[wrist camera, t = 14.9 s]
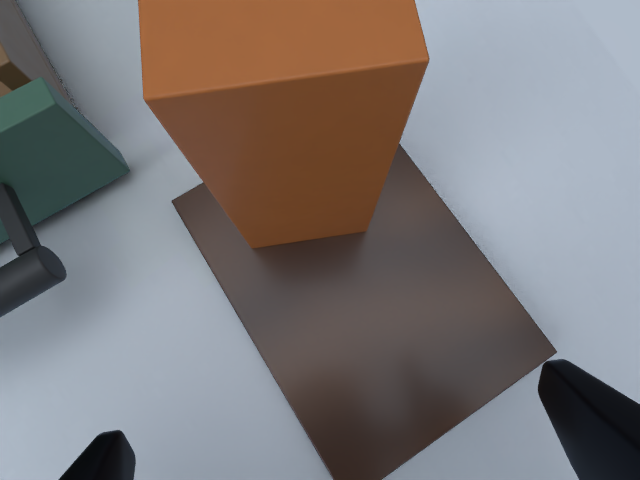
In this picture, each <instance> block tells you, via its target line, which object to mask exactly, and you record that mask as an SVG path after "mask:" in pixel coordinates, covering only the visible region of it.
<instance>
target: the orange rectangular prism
mask: <svg viewBox="0 0 640 480" xmlns="http://www.w3.org/2000/svg"><path fill="white" fill-rule="evenodd" d="M138 6H139V25H140V43H141V62H142V80H143V99H144V101H145V102H146V103H147V105H148V106H149V108H150V109H151V110H152V112H153V113H154V114H155V116H156V117H157V119H158V120H159V121H160V123H161V124H162V126H163V127H164V128H165V130H166V131H167V132H168V134H169V135H170V137H171V138H172V139H173V141H174V142H175V143H176V145H177V146H178V148H179V149H180V150H181V152H182V153H183V155H184V156H185V157H186V159H187V160H188V161H189V163H190V164H191V166H192V167H193V168H194V170H195V171H196V172H197V174H198V175H199V177H200V178H201V179H202V181H203V182H204V183H205V185H206V186H207V188H208V189H209V190H210V192H211V193H212V195H213V196H214V197H215V199H216V200H217V201H218V203H219V204H220V206H221V207H222V208H223V210H224V211H225V212H226V214H227V215H228V217H229V218H230V219H231V221H232V222H233V224H234V225H235V226H236V228H237V229H238V230H239V232H240V233H241V235H242V236H243V237H244V239H245V240H246V241H247V243H248V244H249V246H250V247H251V248H259V247H266V246H272V245H279V244H286V243H292V242H299V241H305V240H312V239H319V238H325V237H332V236H338V235H345V234H352V233H358V232H365V231H367V229H368V227H369V224H370V221H371V218H372V216H373V213H374V210H375V207H376V205H377V202H378V199H379V197H380V194H381V191H382V188H383V186H384V183H385V180H386V177H387V175H388V172H389V169H390V167H391V164H392V161H393V158H394V156H395V153H396V150H397V147H398V145H399V142H400V139H401V136H402V134H403V131H404V128H405V126H406V123H407V120H408V117H409V115H410V112H411V109H412V106H413V104H414V101H415V98H416V95H417V93H418V90H419V87H420V85H421V82H422V79H423V76H424V74H425V71H426V68H427V65H428V63H429V55H428V51H427V47H426V43H425V39H424V35H423V32H422V28H421V24H420V20H419V16H418V12H417V8H416V4H415V0H138Z"/></svg>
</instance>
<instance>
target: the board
mask: <svg viewBox="0 0 640 480" xmlns="http://www.w3.org/2000/svg"><path fill="white" fill-rule="evenodd" d="M172 203H173V205H174V207H175V208H176V210H177V212H178V214H179V215H180V217H181V219H182V220H183V222H184V224H185V226H186V227H187V229H188V231H189V232H190V234H191V236H192V238H193V239H194V241H195V243H196V244H197V246H198V248H199V250H200V251H201V253H202V255H203V257H204V258H205V260H206V262H207V263H208V265H209V267H210V269H211V270H212V272H213V274H214V275H215V277H216V279H217V281H218V282H219V284H220V286H221V287H222V289H223V291H224V293H225V294H226V296H227V298H228V299H229V301H230V303H231V305H232V306H233V308H234V310H235V311H236V313H237V315H238V317H239V318H240V320H241V322H242V324H243V325H244V327H245V329H246V330H247V332H248V334H249V336H250V337H251V339H252V341H253V342H254V344H255V346H256V348H257V349H258V351H259V353H260V354H261V356H262V358H263V360H264V361H265V363H266V365H267V366H268V368H269V370H270V372H271V373H272V375H273V377H274V378H275V380H276V382H277V384H278V385H279V387H280V389H281V390H282V392H283V394H284V396H285V397H286V399H287V401H288V403H289V404H290V406H291V408H292V409H293V411H294V413H295V415H296V416H297V418H298V420H299V421H300V423H301V425H302V427H303V428H304V430H305V432H306V433H307V435H308V437H309V439H310V440H311V442H312V444H313V445H314V447H315V449H316V451H317V452H318V454H319V456H320V457H321V459H322V461H323V463H324V464H325V466H326V468H327V470H328V471H329V473H330V475H331V476H332V478H333V480H382V479H383V478H385V477H386V476H387V475H389V474H390V473H391V472H393V471H394V470H396V469H397V468H398V467H400V466H401V465H402V464H404V463H405V462H407V461H408V460H409V459H411V458H412V457H413V456H415V455H416V454H418V453H419V452H420V451H422V450H423V449H425V448H426V447H427V446H429V445H430V444H431V443H433V442H434V441H436V440H437V439H438V438H440V437H441V436H442V435H444V434H445V433H447V432H448V431H449V430H451V429H452V428H453V427H455V426H456V425H458V424H459V423H460V422H462V421H463V420H465V419H466V418H467V417H469V416H470V415H471V414H473V413H474V412H476V411H477V410H478V409H480V408H481V407H482V406H484V405H485V404H487V403H488V402H489V401H491V400H492V399H493V398H495V397H496V396H498V395H499V394H500V393H502V392H503V391H505V390H506V389H507V388H509V387H510V386H511V385H513V384H514V383H516V382H517V381H518V380H520V379H521V378H522V377H524V376H525V375H527V374H528V373H529V372H531V371H532V370H533V369H535V368H536V367H538V366H539V365H540V364H542V363H543V362H545V361H546V360H547V359H549V358H550V357H551V356H553V355H554V354H556V353H557V351H556V349H555V348H554V347H553V345H552V344H551V343H550V342H549V340H548V339H547V338H546V336H545V335H544V334H543V332H542V331H541V330H540V328H539V327H538V326H537V324H536V323H535V322H534V320H533V319H532V318H531V316H530V315H529V314H528V313H527V311H526V310H525V309H524V307H523V306H522V305H521V303H520V302H519V301H518V299H517V298H516V297H515V295H514V294H513V293H512V291H511V290H510V289H509V287H508V286H507V285H506V284H505V282H504V281H503V280H502V278H501V277H500V276H499V274H498V273H497V272H496V270H495V269H494V268H493V266H492V265H491V264H490V262H489V261H488V260H487V258H486V257H485V256H484V255H483V253H482V252H481V251H480V249H479V248H478V247H477V245H476V244H475V243H474V241H473V240H472V239H471V237H470V236H469V235H468V233H467V232H466V231H465V229H464V228H463V227H462V226H461V224H460V223H459V222H458V220H457V219H456V218H455V216H454V215H453V214H452V212H451V211H450V210H449V208H448V207H447V206H446V204H445V203H444V202H443V200H442V199H441V198H440V197H439V195H438V194H437V193H436V191H435V190H434V189H433V187H432V186H431V185H430V183H429V182H428V181H427V179H426V178H425V177H424V175H423V174H422V173H421V171H420V170H419V169H418V168H417V166H416V165H415V164H414V162H413V161H412V160H411V158H410V157H409V156H408V154H407V153H406V152H405V150H404V149H403V148H402V146H401V145H400V144H399V145H398V147H397V150H396V153H395V156H394V158H393V161H392V164H391V167H390V169H389V172H388V175H387V177H386V180H385V183H384V186H383V188H382V191H381V194H380V197H379V199H378V202H377V205H376V207H375V210H374V213H373V216H372V218H371V221H370V224H369V227H368V229H367V231H365V232H358V233H352V234H345V235H338V236H332V237H325V238H319V239H312V240H305V241H299V242H292V243H286V244H279V245H272V246H266V247H259V248H251V247H250V246H249V244H248V243H247V241H246V240H245V239H244V237H243V236H242V235H241V233H240V232H239V230H238V229H237V228H236V226H235V225H234V224H233V222H232V221H231V219H230V218H229V217H228V215H227V214H226V212H225V211H224V210H223V208H222V207H221V206H220V204H219V203H218V201H217V200H216V199H215V197H214V196H213V195H212V193H211V192H210V190H209V189H208V188H207V186H206V185H205V183H204V182H203V183H202V184H200V185H198V186H197V187H195V188H193V189H191V190H190V191H188V192H186V193H184V194H183V195H181V196H179V197H177V198H176V199H174V200H172Z"/></svg>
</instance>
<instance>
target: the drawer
mask: <svg viewBox="0 0 640 480" xmlns="http://www.w3.org/2000/svg"><path fill="white" fill-rule="evenodd" d="M129 171H130V169H129V167H128V166H127V164H126V162H125V160H124V159H123V157H122V155H121V153H120V152H119V150H118V149H117V148H116V147H115V146H113V145H112V144H111V143H110V142H109V141H108V140H107V139H106V138H105V137H104V136H103V135H102V134H101V133H100V132H99V131H98V130H97V129H96V128H95V127H94V126H93V125H92V124H91V123H90V122H89V121H88V120H87V119H85V118H84V117H83V116H82V115H81V114H80V113H79V112H78V111H77V110H76V109H75V107H74V106H73V104H72V102H71V100H70V98H69V97H68V95H67V93H66V91H65V89H64V88H63V86H62V84H61V82H60V80H59V79H58V77H57V75H56V73H55V71H54V69H53V68H52V66H51V64H50V62H49V60H48V59H47V57H46V55H45V53H44V51H43V50H42V48H41V46H40V44H39V42H38V41H37V39H36V37H35V35H34V33H33V31H32V30H31V28H30V26H29V24H28V22H27V21H26V19H25V17H24V15H23V13H22V12H21V10H20V8H19V6H18V4H17V3H16V1H15V0H0V244H1V243H2V242H4V241H6V240H8V239H10V240H11V242H12V245H13V247H14V249H15V251H16V253H17V255H18V256H19V257H18V258H16V259H14V260H12V261H11V262H9V263H7V264H5V265H4V266H2V267H0V317H2V316H3V315H5V314H7V313H8V312H10V311H12V310H14V309H15V308H17V307H19V306H20V305H22V304H24V303H26V302H27V301H29V300H31V299H32V298H34V297H36V296H38V295H39V294H41V293H43V292H44V291H46V290H48V289H50V288H51V287H53V286H55V285H56V284H58V283H60V282H62V281H63V280H65V278H66V270H65V267H64V265H63V264H62V262H61V261H60V259H59V258H58V257H57V256H56V255H55V254H54V253H53V252H52V251H51V250H50V249H48V248H46V247H44V246H41V244H40V242H39V240H38V238H37V236H36V234H35V232H34V229H33V227H32V226H33V225H35V224H36V223H38V222H40V221H42V220H44V219H45V218H47V217H49V216H51V215H53V214H54V213H56V212H58V211H60V210H62V209H63V208H65V207H67V206H69V205H70V204H72V203H74V202H76V201H78V200H79V199H81V198H83V197H85V196H87V195H88V194H90V193H92V192H94V191H96V190H97V189H99V188H101V187H103V186H105V185H106V184H108V183H110V182H112V181H113V180H115V179H117V178H119V177H121V176H122V175H124V174H126V173H128V172H129Z"/></svg>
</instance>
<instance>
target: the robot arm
mask: <svg viewBox="0 0 640 480" xmlns="http://www.w3.org/2000/svg"><path fill="white" fill-rule="evenodd" d="M538 393H539V397H540V399H541V401H542V404H543V406H544V408H545V410H546V412H547V414H548V416H549V419H550V421H551V423H552V425H553V427H554V429H555V431H556V433H557V436H558V438H559V440H560V442H561V444H562V446H563V448H564V451H565V453H566V455H567V457H568V459H569V461H570V463H571V465H572V467H573V469H574V471H575V473H576V474H577V476H578V478H579V480H640V404H638V403H637V402H635V401H633V400H632V399H630V398H628V397H627V396H625V395H623V394H622V393H620V392H618V391H617V390H615V389H614V388H612V387H610V386H609V385H607V384H605V383H604V382H602V381H600V380H599V379H597V378H595V377H594V376H592V375H590V374H589V373H587V372H586V371H584V370H582V369H581V368H579V367H577V366H576V365H574V364H572V363H571V362H569V361H567V360H564V359H558V360H551V361H546V362H545V363H544V364H543V366H542V371H541V375H540V380H539V384H538ZM135 464H136V459H135V454H134V451H133V449H132V448H131V446H130V444H129V442H128V440H127V439H126V437H125V435H124V433H123V432H122V431H120V430H115V431H109V432H103V433H101V434H99V435H98V436H97V437H96V438H95V439H94V440H93V441H92V442H91V443H90V444H89V446H88V447H87V448H86V449H85V450H84V451H83V452H82V453H81V455H80V456H79V457H78V458H77V459H76V460H75V461H74V463H73V464H72V465H71V466H70V467H69V468H68V469H67V471H66V472H65V473H64V474H63V475H62V476H61V477H60V479H59V480H133V479H134V472H135Z"/></svg>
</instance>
